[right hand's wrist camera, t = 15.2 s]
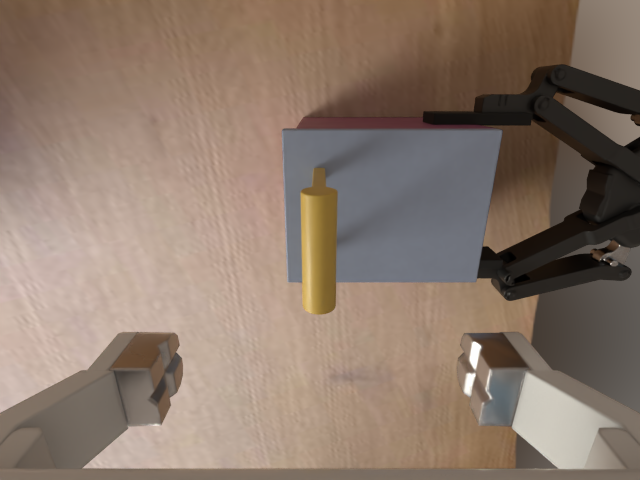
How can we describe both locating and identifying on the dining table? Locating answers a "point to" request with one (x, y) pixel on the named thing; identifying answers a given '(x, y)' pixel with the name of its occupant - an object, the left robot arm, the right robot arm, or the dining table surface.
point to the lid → (385, 206)
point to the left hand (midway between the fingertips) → (420, 192)
